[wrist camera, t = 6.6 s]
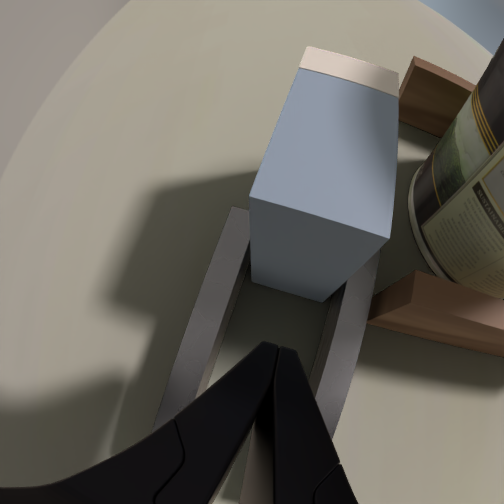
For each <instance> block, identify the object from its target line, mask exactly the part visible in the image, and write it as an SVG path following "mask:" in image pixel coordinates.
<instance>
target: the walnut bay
mask: <svg viewBox="0 0 504 504" xmlns="http://www.w3.org/2000/svg"><path fill="white" fill-rule="evenodd" d="M475 87H476V85H474V84H472V83H470V82H468V81H466V80H464V79H463V78H461V77H459V76H457V75H455V74H453V73H451V72H449V71H447V70H444V69H442V68H440V67H438V66H436V65H434V64H432V63H429V62H427V61H425V60H422V59H420V58H418V57H415V56H413V59H412V61H411V63H410V66H409V68H408V71H407V73H406V75H405V78H404V80H403V82H402V84H401V87H400V89H399V99H398V104H399V117H398V120H399V121H402V122H404V123H407V124H409V125H412V126H414V127H417V128H419V129H421V130H424V131H426V132H428V133H431V134H433V135H435V136H438V137H440V138H442V137H443V136H444V134H445V132H446V131H447V130H448V128H449V127H450V125H451V124H452V122H453V121H454V119H455V118H456V116H457V115H458V113H459V112H460V110H461V109H462V107H463V106H464V104H465V103H466V101H467V100H468V98H469V96H470V95H471V93H472V92H473V90H474V88H475ZM367 324H371V325H374V326H378V327H382V328H385V329H389V330H393V331H397V332H401V333H405V334H408V335H412V336H416V337H420V338H424V339H428V340H432V341H436V342H440V343H444V344H448V345H453V346H457V347H461V348H465V349H470V350H474V351H478V352H483V353H487V354H492V355H496V356H501V357H504V300H502V299H499V298H496V297H493V296H491V295H488V294H485V293H482V292H479V291H477V290H474V289H471V288H468V287H465V286H462V285H459V284H457V283H454V282H451V281H448V280H445V279H442V278H439V277H436V276H433V275H430V274H427V273H424V272H421V271H418V270H414V271H413V272H411V273H410V274H408V275H407V276H405V277H404V278H402V279H401V280H399V281H397V282H396V283H394V284H393V285H391V286H389V287H388V288H386V289H385V290H383V291H381V292H380V293H378V294H376V295H375V296H373V297H372V300H371V305H370V309H369V314H368V318H367Z"/></svg>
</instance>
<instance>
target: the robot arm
mask: <svg viewBox="0 0 504 504" xmlns="http://www.w3.org/2000/svg"><path fill="white" fill-rule="evenodd" d="M253 423H254V425H253ZM252 425H253V429H252V434H251V440H250V445H249V451H248V457H247V462H246V468H245V473H244V479H243V484H242V490H241V495H240V500H239V504H358V502H357V500H356V498H355V496H354V493H353V491H352V489H351V486H350V484H349V482H348V480H347V477H346V475H345V472H344V469H343V467H342V465H341V464H339V463H340V460H339V457H338V455H337V452H336V450H335V447H334V445H333V442H332V439H331V437H330V434H329V432H328V429H327V427H326V424H325V422H324V419H323V417H322V414H321V412H320V409H319V407H318V404H317V402H316V399H315V397H314V394H313V392H312V389H311V387H310V384H309V382H308V379H307V377H306V374H305V372H304V369H303V367H302V364H301V362H300V359H299V357H298V354H297V352H296V351H295V350H293V349H290V348H286V347H283V346H281V347H278V345H276V344H272V343H269V342H266V341H263V342H261V343H260V344H259V345H258V346H256V347H255V348H254V349H253V350H252V351H251V352H250V353H249V354H248V355H246V356H245V357H244V358H243V359H242V360H241V361H240V362H238V363H237V364H236V365H235V366H234V367H233V368H232V369H230V370H229V371H228V372H227V373H226V374H225V375H223V376H222V377H221V378H220V379H219V380H218V381H216V382H215V383H214V384H213V385H212V386H210V387H209V388H208V389H207V390H206V391H205V392H203V393H202V394H201V395H200V396H198V397H197V398H196V399H195V400H194V401H192V402H191V403H190V404H189V405H187V406H186V407H185V408H184V409H182V410H181V411H180V412H179V413H177V414H176V415H175V416H174V418H173V419H172V418H171V419H170V420H168V421H167V422H166V423H164V424H163V425H162V426H161V427H159V428H158V429H157V430H155V431H154V432H152V433H151V434H149V435H148V436H147V437H145V438H144V439H142V440H141V441H139V442H137V443H136V444H134V445H132V446H131V447H129V448H127V449H125V450H124V451H122V452H120V453H118V454H116V455H114V456H112V457H110V458H108V459H106V460H104V461H102V462H100V463H98V464H96V465H94V466H92V467H90V468H88V469H86V470H84V471H82V472H79V473H77V474H75V475H73V476H71V477H68V478H66V479H63V480H60V481H57V482H54V483H51V484H46V485H41V486H33V487H0V504H212V503H213V502H214V500H215V498H216V496H217V494H218V492H219V491H220V489H221V487H222V485H223V483H224V481H225V479H226V478H227V476H228V474H229V472H230V470H231V468H232V466H233V464H234V462H235V460H236V458H237V456H238V454H239V452H240V450H241V448H242V446H243V444H244V442H245V440H246V438H247V436H248V434H249V432H250V430H251V428H252ZM338 464H339V465H338Z"/></svg>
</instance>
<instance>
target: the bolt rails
mask: <svg viewBox="0 0 504 504" xmlns="http://www.w3.org/2000/svg"><path fill="white" fill-rule="evenodd" d="M380 251H381V250H378V251H377V252H376V253H375V254H374V255H373V256H372V257H371V258H370V259H369V260H368V261H367V262H366V263H365V264H363V265H362V266H361V267H360V268H359V269H358V270H357V271H356V272H355V273H354V274H353V275H352V276H351V277H350V278H349V279H348V280H347V281H345V282H344V283H343V284H342V285H341V286H340V287H339V288H338V289H337V290H336V291H335V292H334V293H333V295H332V299H331V303H330V307H329V311H328V315H327V318H326V322H325V326H324V329H323V333H322V337H321V340H320V344H319V347H318V351H317V354H316V357H315V361H314V364H313V367H312V371H311V374H310V377H309V380H308V382H309V384H310V387H311V389H312V392H313V394H314V397H315V399H316V402H317V404H318V407H319V409H320V412H321V414H322V417H323V419H324V422H325V424H326V427H327V429H328V432H329V434H330V437H331V439H332V438H333V435H334V433H335V430H336V427H337V424H338V421H339V418H340V415H341V412H342V409H343V406H344V403H345V400H346V397H347V393H348V390H349V387H350V383H351V380H352V377H353V373H354V370H355V366H356V362H357V359H358V355H359V351H360V347H361V343H362V339H363V335H364V331H365V327H366V323H367V318H368V314H369V309H370V305H371V300H372V295H373V290H374V285H375V280H376V274H377V269H378V263H379V257H380ZM250 259H251V249H250V219H249V211H248V210H245V209H241V208H238V207H234V206H232V207H231V210H230V213H229V215H228V218H227V220H226V223H225V225H224V228H223V231H222V233H221V236H220V238H219V241H218V244H217V246H216V249H215V251H214V254H213V257H212V259H211V262H210V265H209V267H208V270H207V273H206V275H205V278H204V281H203V284H202V286H201V289H200V292H199V295H198V297H197V300H196V303H195V306H194V308H193V311H192V314H191V317H190V319H189V322H188V325H187V328H186V331H185V334H184V336H183V339H182V342H181V345H180V348H179V351H178V354H177V357H176V360H175V362H174V365H173V368H172V371H171V374H170V377H169V380H168V383H167V386H166V389H165V392H164V395H163V398H162V401H161V404H160V407H159V410H158V414H157V417H156V420H155V423H154V426H153V429H152V432H154V431H155V430H157V429H158V428H159V427H161V426H162V425H163V424H164V423H166V422H167V421H168V420H170V419H171V418H172V419H173V418H174V416H175V415H176V414H177V413H179V412H180V411H181V410H182V409H184V408H185V407H186V406H187V405H189V404H190V403H191V402H192V401H194V400H195V399H196V398H197V397H198V396H200V395H201V394H202V393H203V392H205V391H206V388H207V385H208V382H209V380H210V377H211V374H212V371H213V368H214V365H215V362H216V359H217V356H218V353H219V350H220V347H221V344H222V341H223V338H224V335H225V332H226V329H227V326H228V324H229V321H230V318H231V315H232V312H233V309H234V306H235V303H236V300H237V297H238V294H239V291H240V288H241V285H242V282H243V279H244V276H245V273H246V270H247V268H248V265H249V262H250ZM152 432H151V433H152Z"/></svg>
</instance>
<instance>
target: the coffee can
mask: <svg viewBox="0 0 504 504" xmlns="http://www.w3.org/2000/svg"><path fill="white" fill-rule="evenodd" d="M408 210H409V218H410V223H411V227H412V231H413V234H414V237H415V240H416V243H417V245H418V247H419V249H420V251H421V253H422V255H423V256H424V258H425V260H426V262H427V263H428V265H429V266H430V268H431V269H432V270H433V272H434V273H435V274H436V276H437V277H439V278H442V279H445V280H448V281H451V282H454V283H457V284H459V285H462V286H465V287H468V288H471V289H474V290H477V291H479V292H482V293H485V294H488V295H491V296H493V297H496V298H499V299H503V298H504V39H503V41H502V42H501V44H500V46H499V47H498V49H497V51H496V53H495V55H494V56H493V58H492V59H491V61H490V63H489V65H488V67H487V69H486V70H485V72H484V74H483V75H482V77H481V79H480V80H479V82H478V83H477V85H476V87H475V88H474V90H473V92H472V93H471V95H470V96H469V98H468V100H467V101H466V103H465V104H464V106H463V107H462V109H461V110H460V112H459V113H458V115H457V116H456V118H455V119H454V121H453V122H452V124H451V125H450V127H449V128H448V130H447V131H446V132H445V134H444V136H443V137H442V139H441V140H440V141H439V143H438V144H437V146H436V147H435V149H434V150H433V152H432V153H431V154H430V156H429V157H428V158H427V160H426V161H425V162H424V163H423V164H422V165H421V166H420V167H419V168H418V170H417V171H416V173H415V174H414V176H413V178H412V181H411V184H410V188H409V195H408Z"/></svg>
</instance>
